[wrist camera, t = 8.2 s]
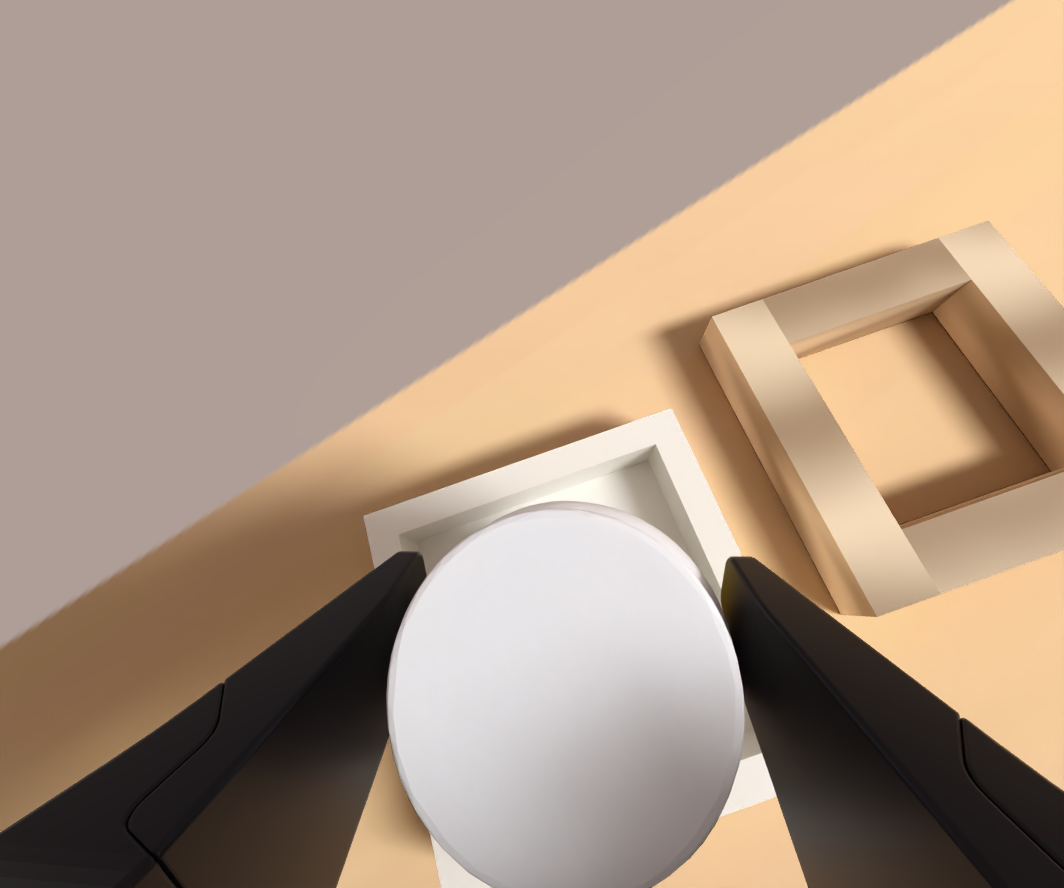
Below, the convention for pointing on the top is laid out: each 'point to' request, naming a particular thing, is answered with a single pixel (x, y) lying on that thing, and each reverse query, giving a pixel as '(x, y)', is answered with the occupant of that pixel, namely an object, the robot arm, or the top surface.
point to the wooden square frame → (829, 460)
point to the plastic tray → (595, 477)
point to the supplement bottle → (566, 701)
